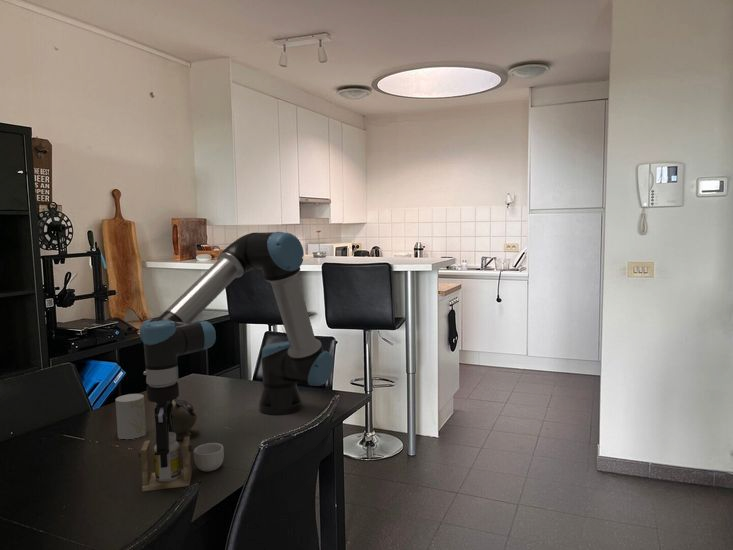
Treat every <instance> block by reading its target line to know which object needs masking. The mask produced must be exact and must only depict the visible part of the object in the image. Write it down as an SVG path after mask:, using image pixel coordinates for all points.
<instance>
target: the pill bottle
mask: <svg viewBox="0 0 733 550" xmlns="http://www.w3.org/2000/svg"><path fill="white" fill-rule="evenodd" d="M156 452H157V448H156V444H155V445H154V446H153V456H154V473H155V476H156V480H158V481H160V482H169V481H173V480H176V479H177V478H179V477H180V476H181V470H182V463H181V446H180V443H179V442H178V440H176V433H174V432H169V452H170V461H171V479H162V480H159V463H158V455H155V453H156Z"/></svg>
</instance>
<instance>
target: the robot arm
mask: <svg viewBox="0 0 733 550" xmlns="http://www.w3.org/2000/svg"><path fill="white" fill-rule="evenodd" d="M304 253H305V252H304V248H303V244H302V243H301V241H300V239H299V238H298V237H297V236H296V235H294V234H293V233H290V232H283V231H276V232H275V231H274V232H273V231H272V232H271V231H270V232H269V231H268V232H249V233H247V234H245V235H243V236H240V237H239V238H238V239H236V240H234V241H233V242H231V244H229V245H227V247H225V249H223V251H221V252H220V253H219V254H218V255H217V258H216V259H217V261H216V262H214V264H212V265H211V266H210V267H209V268H208V269H207V270H206V272H204V273H203V274H202V275H201V276H200V277H199V278H198V279H196V281H194V283H193V284H192V285H191V286H189V288H188V289H187V290H186V291H184V293H183V294H181V295H180V296H179V297H178V298H177V299H176V300H175V301H174V302H173V303H172V304H171V305H170V306H169V307H168V308H167V309H166V310H165V311H164V312H163V313H161V315H160V316H159V317H157V318H155V317H154V318H150V319H149V318H148V319H146V320H144V321H143V323H142V324H141V326H140V327H139V338H140V340H141V341H142V343H143V352H144V364H145V371H143V373H142V374H143V375H144V376H146V378H145V383H146V384H147V386H146V399H147V401H148V402H151V403H156V405H155V408H154V420H155V443H156V444H155V445H156V448H157V452H156V453H155V455H158V463H159V480H162V479H171V461H170V452H169V432H174V424H173V404H172V401H173V400H175V399H178V398H179V396H180V391H179V390H180V388H179V383H178V381H179V365H178V357H180V356H183V355H188V354H192V353H196V352H200V351H201V352H202V351H204V350H208V349H209V348H211V347H212V346H214V345H215V343H216V339H217V335H216V334H217V333H216V329H215V327H214V325H213V324H212V323H211V322H209V321H206V320H204V321H195V320H196V319H197V318H198V317H199V315H200V314H201V313H202V312H204V311H205V309H206V308H207V307H208V306H209V305H211V303H212V302H213V301H214V300H216V298H217V297H218V296H219V295H220V294H221V293H222V292H223V291H224V290H225V289H226V288H227V287H228V286H229V285H230V284H231V283H232V282H233V280H235V279H236V278H237V279H239V278H241V277H242V276H243V275H244V274H245V273H248V272H249V271H252V270H261V271H262V275H263V278H264V280H265V282H268V283H270V284H271V287H272V291H273V294H274V297H275V301H276V304H277V308H278V310H279V313H280V317H281V321H282V324H283V326H284V331H285V333H286V337H287V339H288V340H287V341H281V342H275V343H274V342H273V343H270V344H267V345H265V346H263V347H262V350H261V367H262V370H261V372H262V386H263V387H262V391H261V394H260V398H259V401H258V402H259V403H258V410H259V412H260V413H263V414H266V415H275V416H277V415H287V414H293V413H295V412H298V411H300V410H301V409H303V399H302V396H301V394H300V391H299V388H298V386H297V384H303V385H306V386H307V385H308V386H318V387H320V386H323V385H324V384H325V383H327V382H328V381H329V380H330V377H331V376H332V372H333V369H334V363H335V362H334V361H335V360H334V356H333V355H332V353H331V352H329V351H327V350H324V348H323V345H322V342H321V340H319V339H318V338H316V336H315V333H314V330H313V327H312V323H311V320H310V319H311V318H310V316H309V312H308V309H307V305H306V301H305V298H304V294H303V291H302V287H301V283H300V280H299V277H298V275H299V274H300V272H301V266H302V265H303V261H304V259H303V258H304V256H305V255H304ZM193 321H195V322H193Z"/></svg>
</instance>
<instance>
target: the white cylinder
mask: <svg viewBox="0 0 733 550" xmlns="http://www.w3.org/2000/svg"><path fill="white" fill-rule="evenodd" d="M145 410H146V409H145V396H144V394H141V393H128V394H124V395H119V396H118V397H116V398H115V415H116V430H117V432H116V433H117V439H118V438H119V439H118V440H120V439H133V440H135V439H134V438H138V439H140V438H139V437H141V436H143V437H145V436H146V434H147V428H146V425H147V424H146V412H145ZM141 438H142V437H141Z"/></svg>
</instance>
